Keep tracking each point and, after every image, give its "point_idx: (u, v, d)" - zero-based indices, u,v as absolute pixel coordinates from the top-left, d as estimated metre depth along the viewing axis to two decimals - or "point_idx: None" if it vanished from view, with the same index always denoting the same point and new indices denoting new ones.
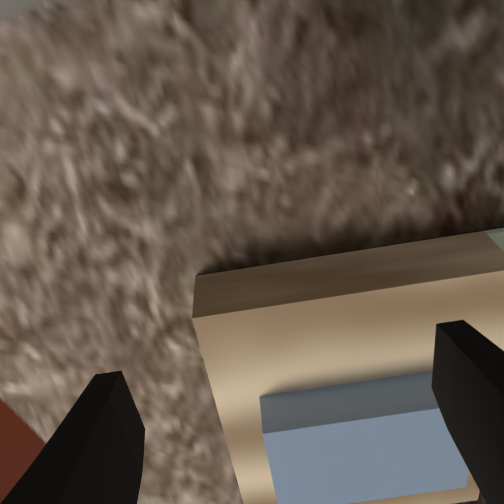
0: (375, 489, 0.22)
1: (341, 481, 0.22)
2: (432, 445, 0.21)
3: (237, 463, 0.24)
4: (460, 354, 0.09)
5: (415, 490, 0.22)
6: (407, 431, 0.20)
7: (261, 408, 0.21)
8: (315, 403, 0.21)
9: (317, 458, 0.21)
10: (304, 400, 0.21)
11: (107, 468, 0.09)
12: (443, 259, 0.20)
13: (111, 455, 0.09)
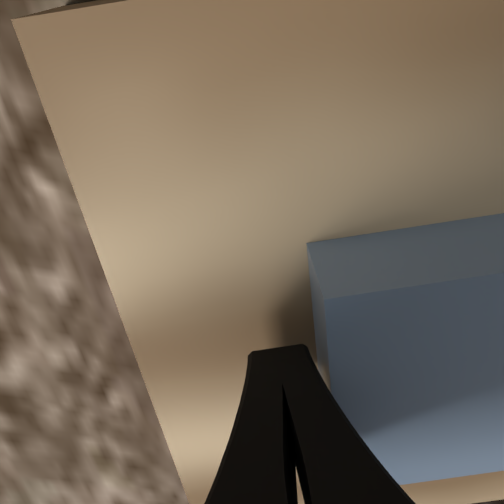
0: None
1: (473, 425, 0.10)
2: None
3: (165, 412, 0.13)
4: (281, 380, 0.09)
5: None
6: None
7: (314, 259, 0.10)
8: (433, 246, 0.09)
9: (435, 367, 0.09)
10: (407, 243, 0.10)
11: (288, 442, 0.09)
12: None
13: (287, 430, 0.09)
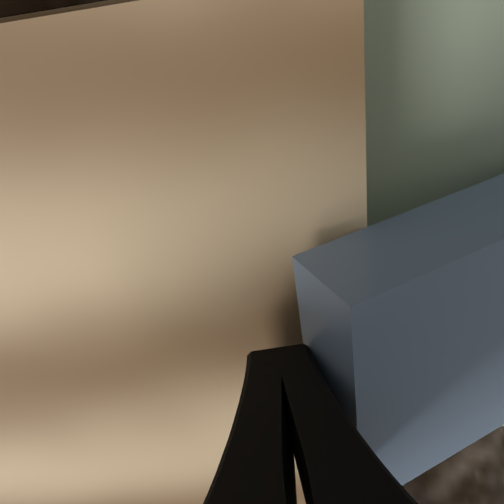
0: None
1: (470, 397, 0.11)
2: None
3: None
4: (282, 380, 0.09)
5: None
6: None
7: (312, 270, 0.09)
8: (416, 233, 0.10)
9: (442, 350, 0.10)
10: (390, 235, 0.10)
11: (287, 442, 0.09)
12: None
13: (287, 430, 0.09)
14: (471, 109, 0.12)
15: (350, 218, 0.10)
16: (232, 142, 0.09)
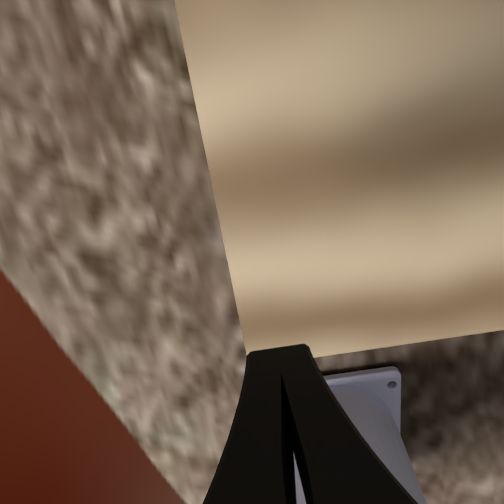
0: None
1: None
2: None
3: (229, 238, 0.17)
4: (283, 380, 0.09)
5: None
6: None
7: None
8: None
9: None
10: None
11: (287, 442, 0.09)
12: None
13: (286, 430, 0.09)
14: None
15: None
16: None
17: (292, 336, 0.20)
